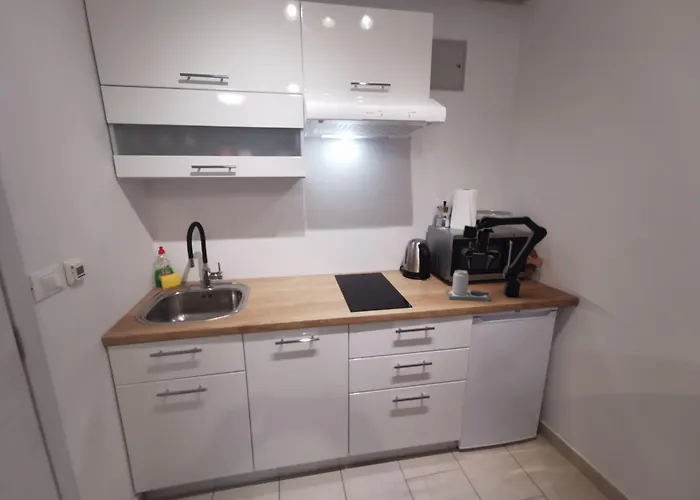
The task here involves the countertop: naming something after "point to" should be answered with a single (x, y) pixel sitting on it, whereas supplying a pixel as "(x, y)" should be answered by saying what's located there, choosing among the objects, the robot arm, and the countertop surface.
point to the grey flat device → (469, 295)
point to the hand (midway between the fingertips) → (478, 268)
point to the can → (460, 282)
